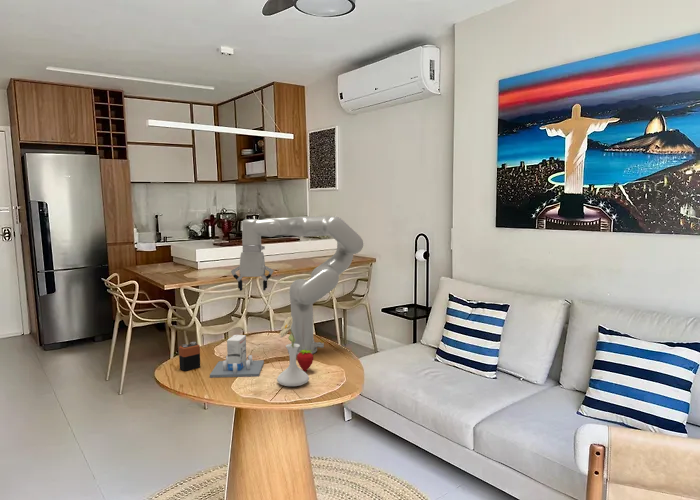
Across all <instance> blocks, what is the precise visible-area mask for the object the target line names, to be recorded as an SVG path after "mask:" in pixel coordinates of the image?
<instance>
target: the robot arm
mask: <svg viewBox="0 0 700 500" xmlns="http://www.w3.org/2000/svg"><path fill="white" fill-rule="evenodd" d="M241 229H242V230H241V233H242V234H241V235H242V236H241V238H242V242H241V243H242V252H240V259H239V265H238V266H237V267H234V268H233V269H231V270H230V273H231V275H232V276H233V278H234V279H235V280H236V282H237V287H238V289H239V291H240V292H242V290H243V289H244V288H243V280H242V279H243V278H244V277H247V278H249V277H251V278H255V277H257V278H258V277H261V278H262V279H263V281H262V291H264V292H265V291H266V289H268V280H269V279H270V278H271V277H272V275H273V273H274V271H275V270H274V269H272V268H270V267H269V266H266V261H265V255H264V251H263V250H266V249H265V248H266V247H265V246H264V245H262V237H269V238H272V237H277V236H293V237H327V236H330V237H332V238H333V239H334V240H335V241H336V242H337V244H336V251H335V253H334V254H333V255H332V256H331V257H329V258H328V259H327V260H325V261H324V262H323V263H321V264H319V265H318V266H317V267H315V268H314V269H313V270H312V272H311V274H310V278H309V279H304V278H299V279H295V280H293V282H292V283H291V285H290V286H289V301H290V317H291V316H292V319H293V320H292V322H293V323H292V325H291V328H290V329H291V331H292V333H293V335H294V338H295V342H294V344H299V345H300V346H299V348H298V350H297V353H296V356H297V355H298V353H300V352H299V351H301V350H305V349H306V350H307V351H308V350H313V351H310V352H311V354H312V355H314V354H316V353H317V352H318V348H321V349H324V347H325V345H324V342H320V341H319V342H317V341H315V339H314V306H313V305H314V303H315V304H316V302H318V301H319V300H320V299H323V298H324V297H325V296H326V295H328V294H329V293H331V291H332V290H334V289H335V288H336V287H337V285H338V283H339V281H340V275H341V274H343V273H344V272H345V271H346V270H347V269H348V268H349V267H350V266H351V265H352V262H353V259H354V255H356V254H358V253H360V252H361V251H362V250H363V248H364V240H363V238H362V236H361V235H360V234H359V233H358V232H356V231H355V230H354V229H353V228H352V227H351V226H350V225H349V224H348V223H347V222H345V220H343V219H342V218H341V217H339V216H335V215H334V216H333V215H320V216H319V215H317V216H315V215H313V216H310V215H309V216H295V217H294V216H293V217H267V218H262V219H257V218H247V219H243V220H242V221H241ZM237 271H239V275H238V274H237ZM266 271H268V272H269V273H268V274H267V275H266ZM291 331H290V334H291V335H292V333H291ZM290 344H292V342H291V341H290ZM306 347H307V348H306ZM287 353H288V354H289V351H288V350H287Z"/></svg>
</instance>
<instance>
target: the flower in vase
mask: <svg viewBox="0 0 700 500" xmlns="http://www.w3.org/2000/svg"><path fill="white" fill-rule="evenodd" d="M292 320H293V319H292V316H291V315H290V316H288V317H287V318H286V319H284V322H283V324H282V326H281V327H280V332H279V336H280V338H284V337H285V336H287V334H288V333H289V331H290V333H289V335H288V341H290V343H288V344H286V345H285V348H286V349H287V352H288V351H289V353H288V357H289V365H288V367H287V368H285V370H283V371H282V372H281V373H279V375H278V376H277V378H276V381H277V383H278V384H280V385H282V386H285V387H297V386H302V385H305V384H307V383H308V382H309V380H310V376H309V374H308V373H307V372H304V371H303V370H302V368H301V367H300V366H298V365H297V355H296V353H297V350H298V348H299V346H300V345H299V344H294V342H295V338H294V335H293V333H292V331H291V325H292V323H293V322H292ZM291 333H292V335H291ZM291 342H292V344H291Z"/></svg>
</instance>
